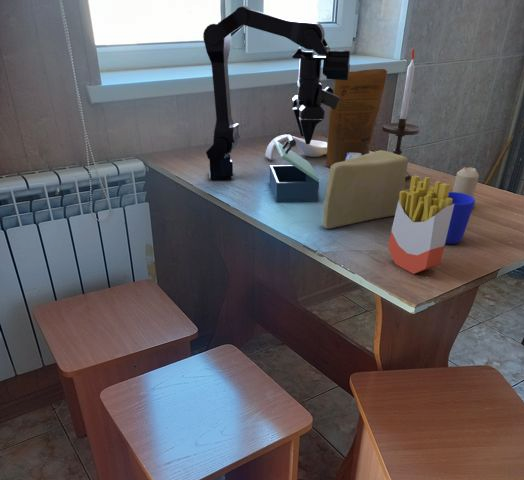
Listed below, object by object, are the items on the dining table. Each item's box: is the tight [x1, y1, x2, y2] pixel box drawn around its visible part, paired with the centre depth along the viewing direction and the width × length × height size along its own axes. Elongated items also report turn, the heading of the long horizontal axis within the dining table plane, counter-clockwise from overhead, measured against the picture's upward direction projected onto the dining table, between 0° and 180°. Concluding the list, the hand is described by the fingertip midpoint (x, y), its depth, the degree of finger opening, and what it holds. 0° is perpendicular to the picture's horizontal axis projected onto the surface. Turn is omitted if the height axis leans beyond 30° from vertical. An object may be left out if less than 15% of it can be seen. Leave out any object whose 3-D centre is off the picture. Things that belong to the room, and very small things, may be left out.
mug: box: [445, 191, 476, 245], centre depth 117 cm, size 8×12×10 cm
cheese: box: [322, 150, 409, 230], centre depth 125 cm, size 22×10×15 cm, turn 127°
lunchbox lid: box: [274, 134, 321, 183], centre depth 140 cm, size 12×16×5 cm
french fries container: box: [388, 175, 454, 275], centre depth 103 cm, size 5×11×18 cm, turn 31°
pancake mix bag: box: [325, 68, 388, 168], centre depth 161 cm, size 7×19×28 cm, turn 109°
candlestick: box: [382, 46, 421, 181], centre depth 150 cm, size 11×11×35 cm
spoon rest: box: [264, 134, 327, 161], centre depth 175 cm, size 24×12×7 cm, turn 114°
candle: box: [452, 166, 480, 198], centre depth 136 cm, size 6×6×10 cm
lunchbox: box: [268, 164, 320, 203], centre depth 145 cm, size 11×16×5 cm
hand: (305, 140), depth 145 cm, fingers open, 9 cm apart
